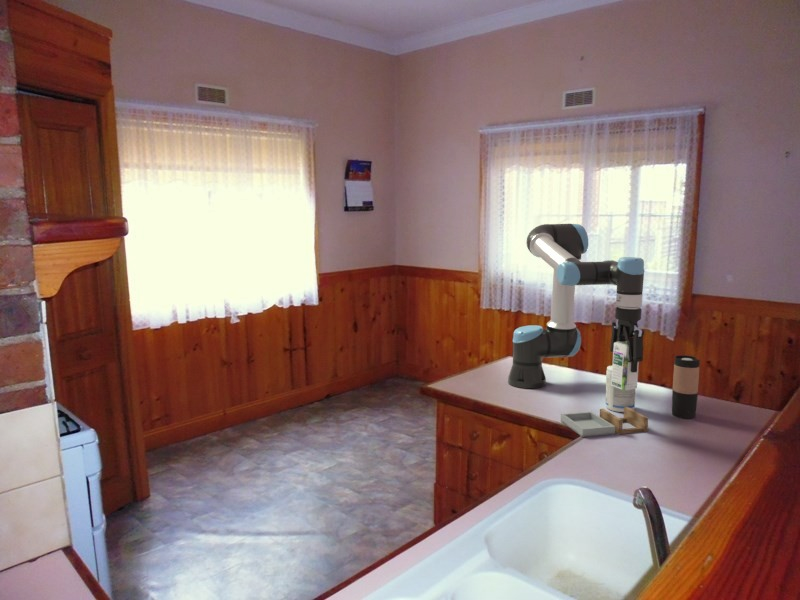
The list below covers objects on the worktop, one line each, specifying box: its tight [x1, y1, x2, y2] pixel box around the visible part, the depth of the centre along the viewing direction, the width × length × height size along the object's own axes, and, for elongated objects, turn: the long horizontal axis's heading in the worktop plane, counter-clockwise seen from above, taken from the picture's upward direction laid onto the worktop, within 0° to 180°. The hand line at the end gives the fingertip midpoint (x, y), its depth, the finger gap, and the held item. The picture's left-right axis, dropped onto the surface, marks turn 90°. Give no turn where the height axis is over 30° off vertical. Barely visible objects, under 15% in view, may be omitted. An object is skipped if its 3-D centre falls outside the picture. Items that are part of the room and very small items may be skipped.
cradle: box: [599, 407, 649, 435], centre depth 178 cm, size 11×10×4 cm
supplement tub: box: [605, 364, 636, 413], centre depth 195 cm, size 10×10×15 cm
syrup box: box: [611, 340, 640, 391], centre depth 176 cm, size 6×6×14 cm
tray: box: [560, 411, 616, 438], centre depth 178 cm, size 14×11×2 cm
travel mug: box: [671, 354, 701, 420], centre depth 187 cm, size 8×8×20 cm
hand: (624, 378), depth 177 cm, fingers closed on syrup box, 6 cm apart
